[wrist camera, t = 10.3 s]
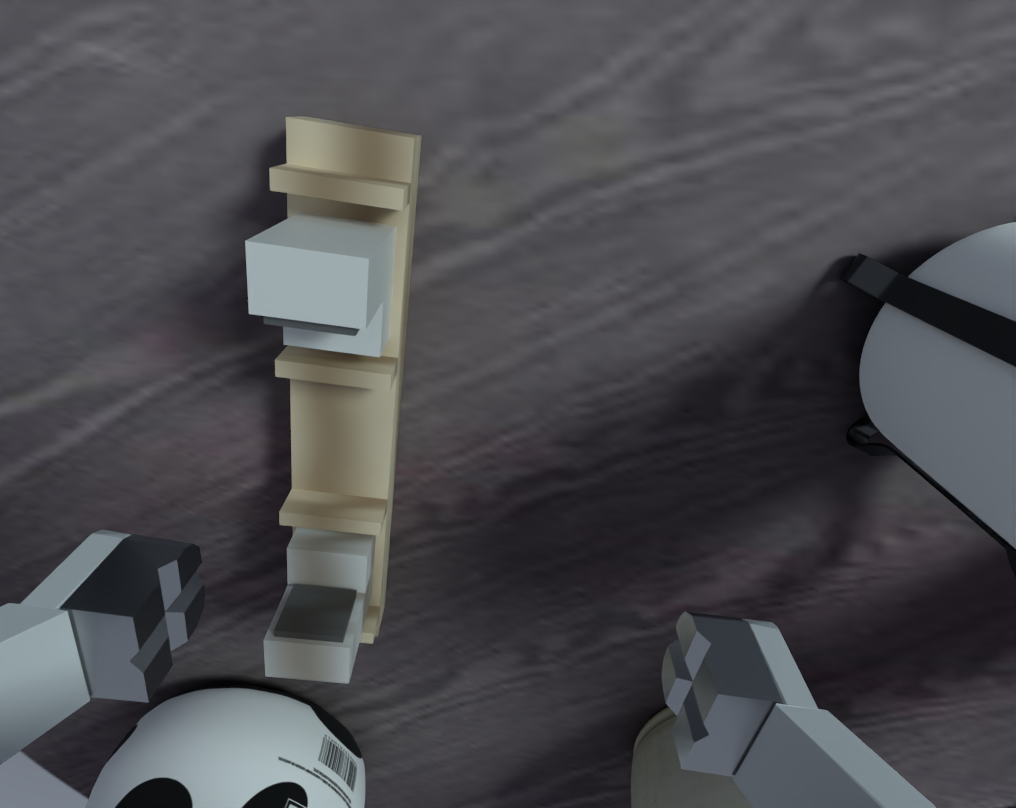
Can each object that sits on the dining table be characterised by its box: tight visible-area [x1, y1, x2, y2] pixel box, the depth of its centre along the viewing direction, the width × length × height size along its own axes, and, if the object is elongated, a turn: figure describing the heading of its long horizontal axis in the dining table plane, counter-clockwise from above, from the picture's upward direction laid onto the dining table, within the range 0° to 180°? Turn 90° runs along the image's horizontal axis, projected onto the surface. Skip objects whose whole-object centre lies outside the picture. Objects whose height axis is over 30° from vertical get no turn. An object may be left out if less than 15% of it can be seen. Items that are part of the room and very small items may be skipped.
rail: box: [264, 116, 421, 684], centre depth 28 cm, size 5×28×8 cm, turn 171°
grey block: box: [245, 212, 397, 357], centre depth 23 cm, size 4×5×6 cm
